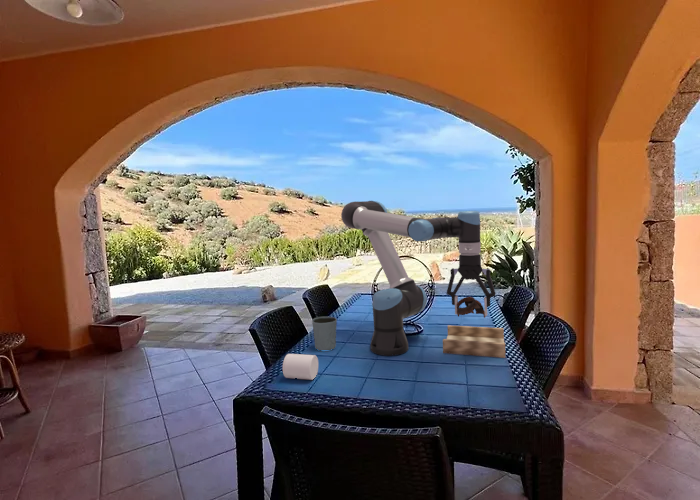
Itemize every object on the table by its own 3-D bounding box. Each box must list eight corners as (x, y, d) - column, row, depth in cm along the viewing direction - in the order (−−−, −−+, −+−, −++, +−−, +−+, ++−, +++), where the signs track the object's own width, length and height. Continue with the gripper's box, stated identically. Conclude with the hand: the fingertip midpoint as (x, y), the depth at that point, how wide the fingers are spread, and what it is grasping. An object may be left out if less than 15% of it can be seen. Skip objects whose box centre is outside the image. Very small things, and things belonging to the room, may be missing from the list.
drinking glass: (308, 348, 156) (306, 320, 155) (326, 341, 164) (324, 314, 162) (325, 354, 149) (323, 324, 148) (343, 346, 157) (341, 318, 156)
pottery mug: (490, 321, 133) (479, 303, 131) (465, 331, 136) (454, 314, 134) (483, 304, 144) (473, 287, 142) (460, 314, 147) (450, 297, 145)
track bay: (443, 353, 144) (442, 340, 143) (448, 336, 162) (447, 325, 161) (505, 357, 136) (505, 344, 136) (503, 340, 154) (503, 328, 153)
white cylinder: (310, 384, 124) (309, 360, 123) (283, 381, 127) (281, 359, 126) (323, 368, 136) (321, 347, 135) (297, 367, 138) (296, 346, 138)
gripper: (436, 255, 137) (438, 315, 140) (502, 255, 129) (503, 319, 131) (440, 252, 144) (442, 310, 147) (503, 252, 135) (503, 313, 138)
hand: (471, 314), depth 139 cm, fingers closed on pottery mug, 10 cm apart
